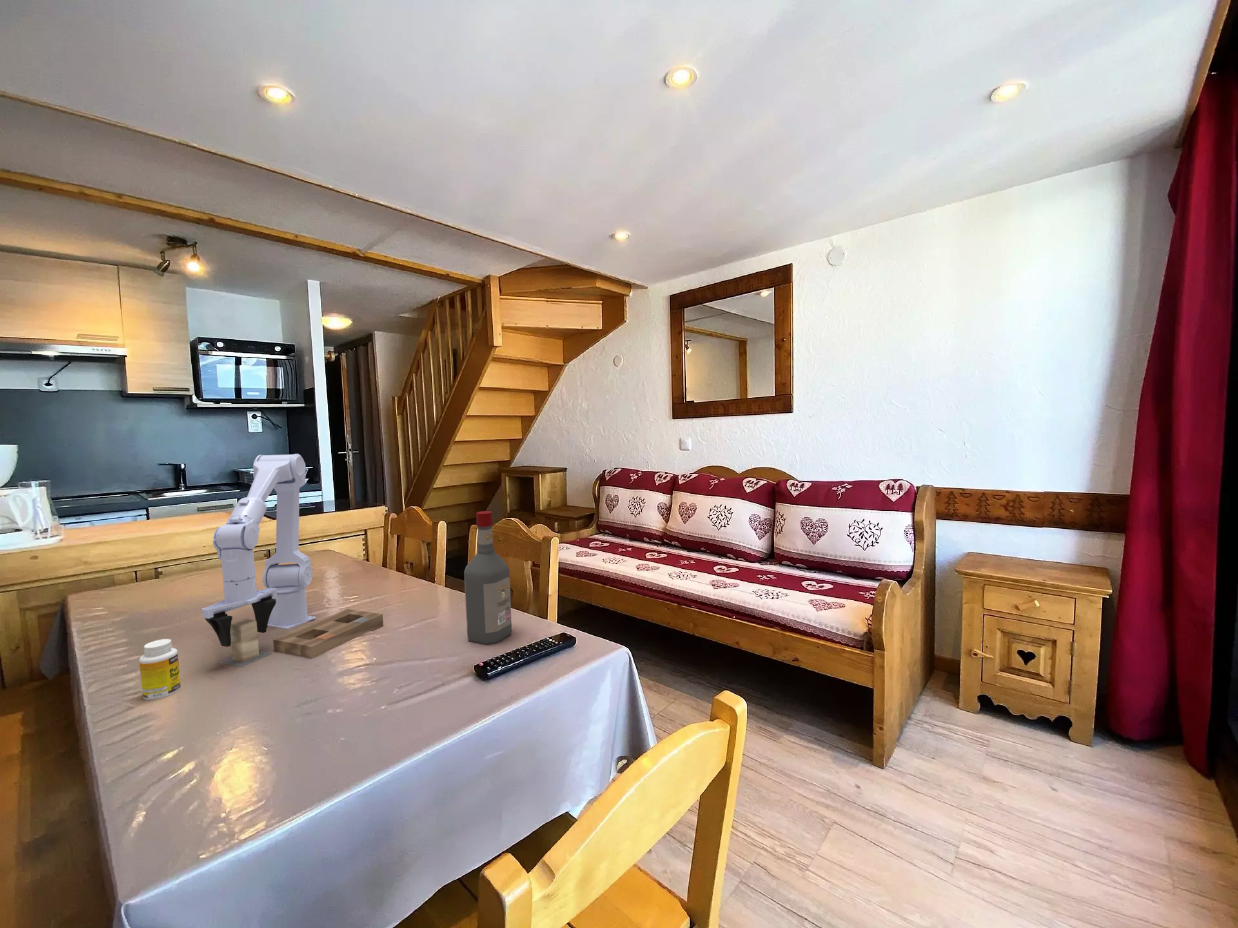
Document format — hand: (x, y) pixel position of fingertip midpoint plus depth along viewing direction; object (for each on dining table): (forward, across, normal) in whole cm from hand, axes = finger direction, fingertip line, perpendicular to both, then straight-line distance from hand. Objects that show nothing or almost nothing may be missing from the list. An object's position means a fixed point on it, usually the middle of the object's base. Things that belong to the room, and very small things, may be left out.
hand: (244, 638), depth 114 cm
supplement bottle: (+5, -15, +1) cm, 16 cm away
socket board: (+5, +15, -8) cm, 17 cm away
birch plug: (+4, 0, 0) cm, 4 cm away
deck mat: (+5, 0, 0) cm, 5 cm away
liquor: (+5, +28, -44) cm, 53 cm away
